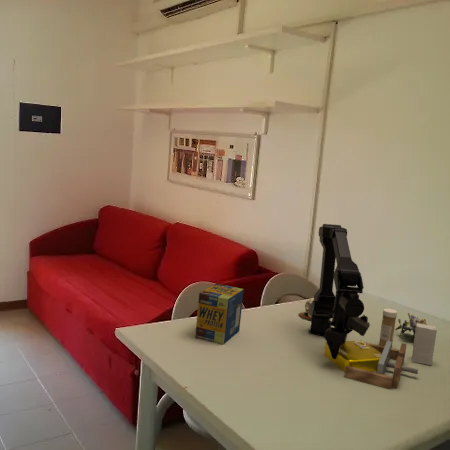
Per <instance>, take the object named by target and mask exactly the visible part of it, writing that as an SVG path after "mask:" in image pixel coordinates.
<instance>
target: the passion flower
mask: <svg viewBox="0 0 450 450" xmlns="http://www.w3.org/2000/svg"><path fill="white" fill-rule="evenodd" d="M407 316H408V319H409V320H406V319H405V320H404V322H403V323H402V324H401V320H402V319H401V318H398V320H397V322H398V324H399V326H398V327H396V328H394V331H398V330H400V329H401V330H400V332H399V336H398V337H400V336H401V335H403V334H405V333H406V332H407V331H408V332H413V334H412V335H413V337H414V338H415V331H416V324H417V323H419V324H425V325H428V324H427V321H426V319H425V318H424V319H423V318H421V319H420V318H419V317H416V316H415V315H414V314H410V312H408V313H407Z"/></svg>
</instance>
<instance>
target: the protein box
mask: <svg viewBox="0 0 450 450" xmlns="http://www.w3.org/2000/svg"><path fill="white" fill-rule="evenodd" d="M244 290H245V289H244V288H239V287H236V286H235V287H234V286H230V285H227V284H226V285H225V284H220V283H215V284H214V285H212V286H210V287H208V288H206V289H204V290H203V291H200V292H199V293H198V302H197V303H198V304H197V313H196V314H197V315H196V324H195V326H196V328H195V339H199V340H203V341H207V342H211V343H216V344H220V345H225V344H226V343H227V342H229V341H230V340H231V339H232V338H234V336H235V335H237V334H238V333H240V327H241V326H240V325H241V319H242V309H243V297H244V292H245V291H244Z"/></svg>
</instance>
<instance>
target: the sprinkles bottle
mask: <svg viewBox="0 0 450 450" xmlns="http://www.w3.org/2000/svg"><path fill="white" fill-rule="evenodd" d="M397 317H398V311H397V310H395V309H393V308H384V309H383V311H382V319H381V327H380V333H379V342H378V345H380V346H384V347H385V345H386V342H387V341H391V342H392V345H391V348H393V342H394V338H395V337H394V336H395V329H396V328H395V326H396V319H397Z"/></svg>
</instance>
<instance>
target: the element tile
mask: <svg viewBox="0 0 450 450" xmlns="http://www.w3.org/2000/svg"><path fill="white" fill-rule="evenodd" d="M365 342H366V341H363V340H346V342H345V343H344V344H342V345H341V346H340V349H339V352H338V354H337V357H336V359H333V358H332V356H331V353H330V350H329V347H328V344H327V342H325V344H324V353H323V356H324V357H326V358H327V359H328V360H330V362H332V363H334V364H335V365H336V366H337V367H338V368H339V369H341V370H342V371H343V372H345V370H346V366H351V367H355V368H359V369H363V370H367V371H371V372H375V373H377V368H378V363H379V360H380V358H381V355H382V353H381V352H379V351H378V350H376V349H374V348H373V347H371V346H370V345H368V344H367V343H368V342H367V343H365ZM387 361H388V358H387ZM388 362H389V361H388ZM387 368H388V367H386V369H387Z"/></svg>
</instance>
